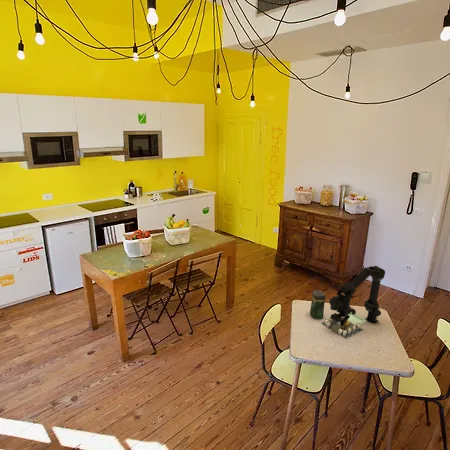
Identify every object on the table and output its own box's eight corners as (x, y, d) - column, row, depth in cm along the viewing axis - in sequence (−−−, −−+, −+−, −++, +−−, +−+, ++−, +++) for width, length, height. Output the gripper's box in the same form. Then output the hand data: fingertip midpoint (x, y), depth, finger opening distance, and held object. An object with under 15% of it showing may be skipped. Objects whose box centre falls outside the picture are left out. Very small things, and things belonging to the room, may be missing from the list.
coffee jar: (324, 319, 230) (327, 295, 224) (313, 320, 228) (316, 296, 223) (318, 312, 239) (321, 288, 233) (308, 312, 238) (310, 289, 232)
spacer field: (337, 316, 234) (338, 310, 233) (363, 330, 219) (364, 325, 218) (320, 324, 224) (321, 318, 223) (345, 340, 209) (346, 334, 208)
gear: (344, 321, 227) (344, 318, 226) (351, 325, 223) (351, 322, 222) (338, 324, 224) (339, 320, 223) (346, 328, 220) (346, 325, 219)
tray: (350, 315, 236) (351, 312, 235) (366, 323, 227) (366, 320, 226) (342, 318, 231) (343, 315, 231) (358, 327, 222) (358, 324, 221)
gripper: (343, 295, 228) (340, 315, 232) (325, 302, 217) (322, 323, 222) (357, 302, 219) (354, 323, 224) (339, 310, 209) (336, 332, 213)
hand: (341, 325), depth 221 cm, fingers closed
